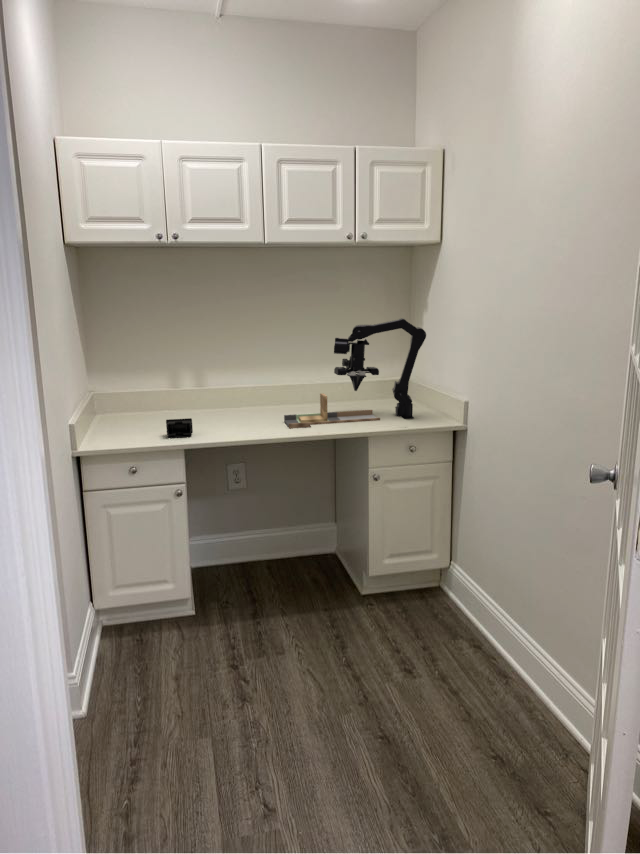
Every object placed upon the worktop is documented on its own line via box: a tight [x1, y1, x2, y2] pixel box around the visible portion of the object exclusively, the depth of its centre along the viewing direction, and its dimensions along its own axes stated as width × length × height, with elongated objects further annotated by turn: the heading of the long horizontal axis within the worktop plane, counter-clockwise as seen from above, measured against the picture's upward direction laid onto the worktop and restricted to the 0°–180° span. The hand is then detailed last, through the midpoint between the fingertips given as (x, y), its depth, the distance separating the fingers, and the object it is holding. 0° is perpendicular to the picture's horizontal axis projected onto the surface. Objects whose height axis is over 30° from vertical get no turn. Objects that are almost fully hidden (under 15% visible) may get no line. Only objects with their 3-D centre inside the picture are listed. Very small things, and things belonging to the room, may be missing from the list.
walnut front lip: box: [288, 417, 381, 429], centre depth 276 cm, size 39×1×2 cm, turn 102°
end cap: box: [165, 417, 194, 439], centre depth 262 cm, size 10×7×7 cm
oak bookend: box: [299, 393, 329, 423], centre depth 278 cm, size 11×7×11 cm, turn 102°
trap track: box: [283, 409, 377, 429], centre depth 282 cm, size 39×11×3 cm, turn 102°
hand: (355, 390), depth 287 cm, fingers closed
